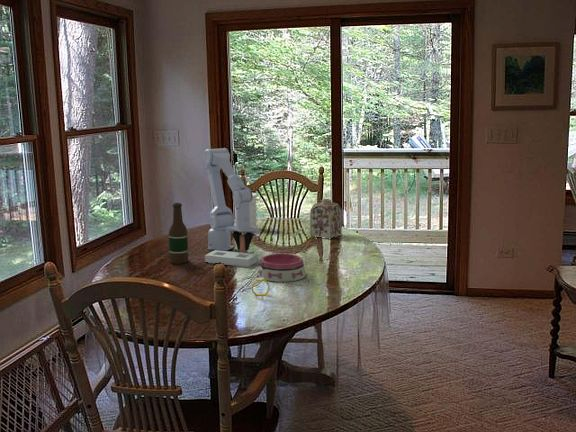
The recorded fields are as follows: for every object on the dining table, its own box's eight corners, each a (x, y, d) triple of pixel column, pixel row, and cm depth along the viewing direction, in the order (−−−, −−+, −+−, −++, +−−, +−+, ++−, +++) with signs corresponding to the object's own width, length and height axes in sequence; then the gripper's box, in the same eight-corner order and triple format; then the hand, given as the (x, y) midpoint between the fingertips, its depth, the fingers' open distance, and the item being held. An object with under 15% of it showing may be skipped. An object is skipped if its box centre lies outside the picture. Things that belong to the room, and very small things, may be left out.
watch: (252, 297, 200) (250, 280, 199) (252, 294, 203) (250, 278, 202) (270, 295, 201) (268, 278, 200) (269, 293, 203) (268, 276, 202)
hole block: (205, 262, 242) (204, 255, 241) (215, 257, 250) (214, 250, 250) (248, 266, 236) (248, 259, 235) (257, 261, 244) (257, 254, 243)
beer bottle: (192, 260, 245) (190, 202, 241) (182, 265, 238) (181, 205, 234) (175, 258, 248) (173, 201, 243) (165, 263, 241) (163, 204, 236)
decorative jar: (342, 235, 292) (342, 198, 288) (330, 239, 282) (331, 202, 279) (320, 232, 298) (321, 196, 295) (308, 236, 288) (309, 200, 285)
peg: (238, 256, 251) (238, 235, 249) (241, 255, 254) (241, 234, 252) (245, 257, 250) (245, 236, 248) (248, 255, 253) (247, 234, 251)
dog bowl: (313, 281, 219) (313, 262, 217) (263, 285, 214) (263, 266, 212) (298, 267, 236) (298, 250, 235) (252, 271, 231) (251, 254, 230)
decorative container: (257, 231, 299) (257, 196, 296) (234, 231, 299) (233, 196, 296) (258, 226, 310) (258, 192, 307) (236, 226, 311) (236, 192, 307)
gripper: (222, 218, 247) (223, 250, 250) (255, 220, 243) (255, 253, 245) (230, 215, 254) (230, 246, 257) (261, 217, 249) (262, 249, 252)
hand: (243, 249), depth 251 cm, fingers closed on peg, 3 cm apart
